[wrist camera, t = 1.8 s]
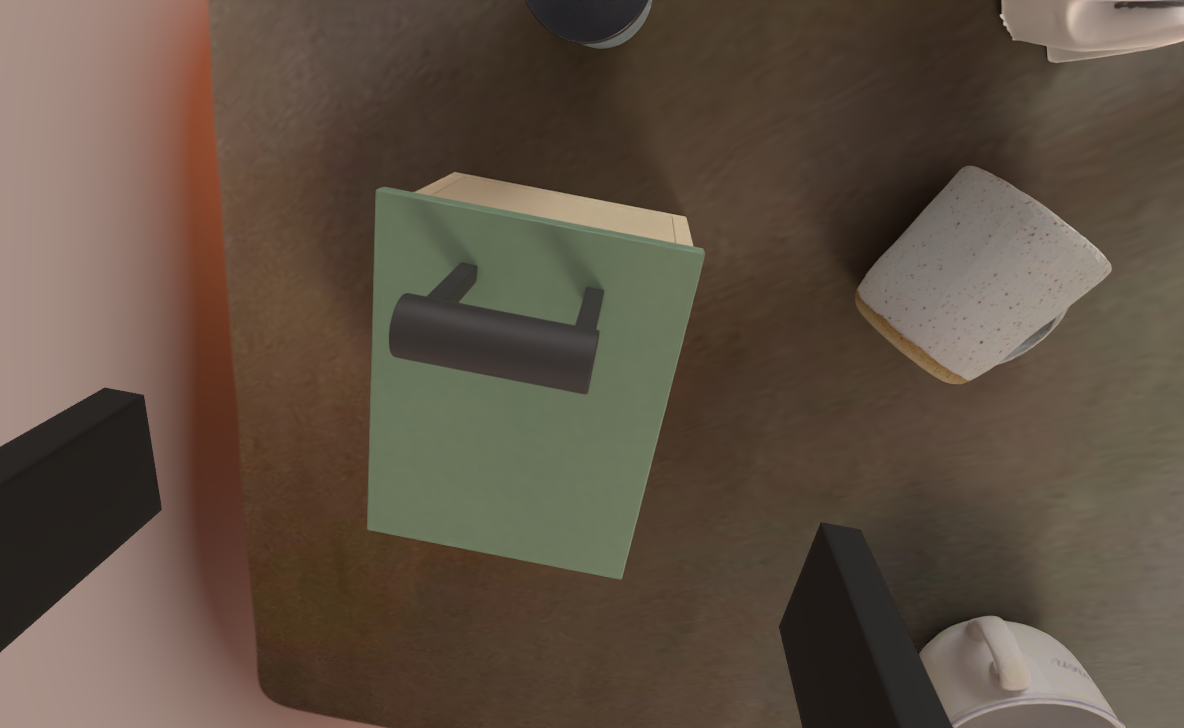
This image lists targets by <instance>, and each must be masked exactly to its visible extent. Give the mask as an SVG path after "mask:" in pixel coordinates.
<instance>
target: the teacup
mask: <svg viewBox="0 0 1184 728" xmlns="http://www.w3.org/2000/svg"><path fill="white" fill-rule="evenodd" d="M919 656H920V658H921V660H922V663H923V665H924V667H925V669H926V671H927V673H928V675H929V678H930V680H931V682H932V684H933V686H934V688H935V690H936V693H937V695H938V697H939V699H940V701H941V703H942V706H943V708H944V710H945V712H946V714H947V716H948V718H949V721H950V723H951V725H952V727H954V728H1126V727H1125V725H1124V724H1123V723H1122V722H1121V721H1120V720H1119V719H1118V718H1117V717H1116V715H1115V714H1114V712H1113V711H1112V709H1111V708H1110V706H1109V704H1108V703H1107V701H1106V700H1105V698H1104V697H1103V695H1102V694H1101V692H1100V691H1099V689H1098V688H1097V686H1096V685H1095V683H1094V682H1093V681H1092V679H1091V678H1090V676H1089V675H1088V673H1087V672H1086V671H1085V669H1084V668H1083V667H1082V665H1081V664H1080V663H1079V661H1078V660H1077V659H1076V658H1075V657H1074V656H1073V655H1072V653H1071V652H1070V651H1069V650H1068V649H1067V648H1065V647H1064V646H1063V645H1062V644H1061V643H1060V642H1058V641H1057V640H1056V639H1054V638H1053V637H1051V636H1050V635H1048V634H1046V633H1044V632H1042V631H1040V630H1038V629H1036V628H1033V627H1031V626H1027V625H1024V624H1020V623H1016V622H1009V621H1004V620H1002V619H1001V618H1000V617H997V616H983V617H979V618H974V619H971V620H970V621H965V622H961V623H958V624H955V625H953V626H951V627H949V628H947V629H945V630H943V631H942V632H940V633H939V634H938V635H937V636H936V637H934V638H933V639H932V640H931V641H930V642H929V643H928V644H927V645H926V646H925V647H924V648H923V649H922V650H921V652H920V653H919Z"/></svg>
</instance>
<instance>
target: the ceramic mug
mask: <svg viewBox="0 0 1184 728" xmlns="http://www.w3.org/2000/svg"><path fill="white" fill-rule="evenodd" d="M1111 270H1112V268H1111V264H1110V262H1109V261H1108V260H1107V259H1106V257H1105V256H1104V255H1103V254H1102V253H1101V252H1100V250H1099V249H1098V248H1096V247H1095V246H1094V245H1093V244H1092V243H1090V242H1089V241H1088V240H1087V239H1086V238H1085V237H1083V236H1082V235H1080V234H1079V233H1078V231H1076V230H1075V229H1073V228H1072V227H1071V226H1069V225H1068V224H1067V223H1065V222H1064V221H1063V220H1062V219H1060V218H1059V217H1058V216H1057V215H1055V214H1054V213H1053V212H1052V211H1050V210H1049V209H1048V208H1046V207H1045V206H1044V205H1042V204H1041V203H1039V202H1038V201H1037V200H1035V199H1034V198H1032V197H1030V196H1029V195H1027V194H1025V193H1023V192H1021V191H1019V190H1018V189H1017V188H1015V187H1014V186H1013V185H1011V184H1009V183H1008V182H1006V181H1004V180H1003V179H1001V178H999V177H997V176H994V175H993V174H991V173H989V172H987V171H985V170H982V169H980V168H978V167H975V166H965V167H964V168H962V169H960V170H959V172H958V173H957V174H956V175H955V176H954V177H953V179H952V180H951V181H950V182H949V183H948V184H947V186H946V187H945V188H944V189H943V190H942V191H941V192H940V193H939V194H938V195H937V196H936V197H935V198H934V199H933V201H932V202H931V203H930V204H929V205H928V206H927V207H926V208H925V209H924V210H923V211H922V213H921V214H920V215H919V216H918V217H917V218H916V219H915V220H914V222H913V223H912V224H911V225H910V226H909V227H908V228H907V229H906V231H905V232H904V233H903V234H902V235H901V236H900V237H899V238H898V240H897V241H896V242H895V243H894V244H893V245H892V246H891V247H890V248H889V249H888V250H887V251H886V252H885V253H884V254H883V255H882V256H881V257H880V258H879V259H878V261H877V262H876V263H875V264H874V265H873V267H872V268H871V269H870V270H869V271H868V273H867V274H866V276H865V277H864V279H863V280H862V282H861V284H860V285H859V287H858V288H857V290H856V292H855V304H856V306H857V308H858V310H859V311H860V313H861V314H862V315H863V316H864V317H865V319H866V320H867V321H868V322H869V323H870V324H871V325H872V326H873V327H874V328H875V329H876V330H877V331H878V332H879V333H880V334H882V335H883V336H884V337H885V338H886V339H887V340H888V341H889V342H890V343H892V344H893V345H894V346H895V347H896V348H897V349H899V350H900V351H901V352H902V353H903V354H905V355H906V356H907V357H908V358H910V359H911V360H912V361H914V362H915V363H916V364H917V365H919V366H920V367H921V368H922V369H924V370H926V371H927V372H929V373H930V374H932V375H933V376H935V377H937V378H938V379H940V380H942V381H944V382H946V383H950V384H964V383H966V382H968V381H970V380H972V379H974V378H976V377H978V376H980V375H981V374H983V373H985V372H986V371H988V370H990V369H991V368H992V367H994V366H995V365H998V364H1002V363H1005V362H1007V361H1010V360H1012V359H1014V358H1016V357H1018V356H1020V355H1021V354H1023V353H1025V352H1026V351H1028V350H1029V349H1031V348H1032V347H1034V346H1035V345H1036V344H1038V343H1039V342H1040V341H1042V340H1043V339H1044V338H1045V337H1046V336H1047V335H1048V334H1049V333H1050V332H1051V331H1052V330H1053V329H1054V328H1055V327H1056V326H1057V325H1058V324H1059V322H1060V321H1061V320H1062V318H1063V317H1064V315H1065V314H1066V312H1067V310H1068V308H1069V306H1070V305H1071V304H1073V303H1074V302H1075V301H1077V300H1078V299H1079V298H1080V297H1082V296H1083V295H1084V294H1086V293H1087V292H1088V291H1089V290H1091V289H1092V288H1093V287H1094V286H1096V285H1097V284H1098V283H1100V282H1101V281H1102V280H1103V279H1104V278H1105V277H1106V276H1107V275H1108V274H1109V273H1110V272H1111Z"/></svg>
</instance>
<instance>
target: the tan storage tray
mask: <svg viewBox="0 0 1184 728" xmlns="http://www.w3.org/2000/svg"><path fill="white" fill-rule="evenodd" d="M415 193H420V194H425V195H430V196H435V197H440V198H446V199H451V200H456V201H461V202H466V203H471V204H477V205H482V206H487V207H492V208H497V209H502V210H507V211H513V212H518V213H523V214H528V215H533V216H538V217H544V218H549V219H554V220H559V221H564V222H569V223H574V224H580V225H585V226H590V227H595V228H600V229H605V230H611V231H616V232H621V233H626V234H631V235H636V236H641V237H647V238H652V239H657V240H662V241H667V242H672V243H678V244H683V245H688V246H693V243H692V239H691V235H690V231H689V226H688V222H687V218H686V217H684V216H679V215H674V214H669V213H664V212H659V211H653V210H648V209H643V208H638V207H633V206H628V205H623V204H617V203H612V202H607V201H602V200H597V199H592V198H586V197H581V196H576V195H571V194H566V193H561V192H555V191H550V190H545V189H540V188H535V187H530V186H524V185H519V184H514V183H509V182H504V181H499V180H493V179H488V178H483V177H478V176H473V175H468V174H462V173H457V172H454V173H452V174H450V175H448V176H446V177H444V178H442V179H440V180H438V181H436V182H434V183H432V184H430V185H428V186H426V187H424V188H422V189H420V190H418V191H415Z"/></svg>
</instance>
